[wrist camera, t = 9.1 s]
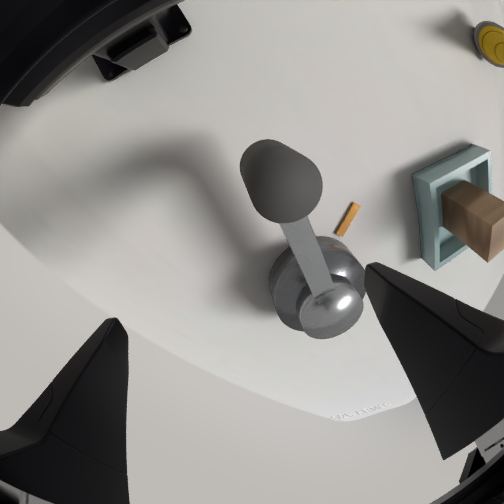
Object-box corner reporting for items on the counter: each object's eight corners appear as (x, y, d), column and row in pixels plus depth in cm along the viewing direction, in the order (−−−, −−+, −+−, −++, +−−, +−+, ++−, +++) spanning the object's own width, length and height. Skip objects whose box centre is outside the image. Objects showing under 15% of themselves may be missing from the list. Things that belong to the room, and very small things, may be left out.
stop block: (440, 193, 21) (492, 226, 15) (464, 179, 20) (513, 207, 14) (443, 226, 23) (487, 262, 17) (465, 212, 22) (509, 243, 16)
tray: (411, 174, 20) (429, 183, 18) (473, 144, 19) (490, 150, 17) (421, 258, 25) (434, 271, 23) (476, 221, 24) (490, 231, 22)
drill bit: (495, 66, 14) (524, 100, 10) (461, 39, 15) (483, 62, 11) (511, 38, 9) (547, 65, 5) (476, 8, 10) (505, 22, 6)
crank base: (247, 253, 22) (253, 275, 19) (357, 199, 21) (376, 214, 18) (288, 321, 26) (295, 343, 24) (376, 277, 25) (390, 295, 23)
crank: (357, 305, 22) (384, 348, 18) (306, 330, 23) (324, 378, 18) (292, 122, 14) (328, 131, 9) (212, 160, 14) (212, 185, 10)
